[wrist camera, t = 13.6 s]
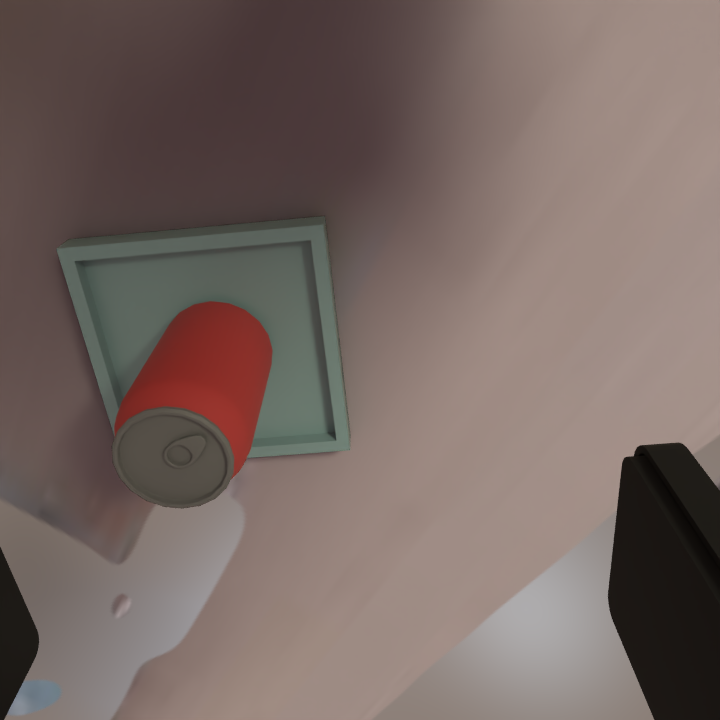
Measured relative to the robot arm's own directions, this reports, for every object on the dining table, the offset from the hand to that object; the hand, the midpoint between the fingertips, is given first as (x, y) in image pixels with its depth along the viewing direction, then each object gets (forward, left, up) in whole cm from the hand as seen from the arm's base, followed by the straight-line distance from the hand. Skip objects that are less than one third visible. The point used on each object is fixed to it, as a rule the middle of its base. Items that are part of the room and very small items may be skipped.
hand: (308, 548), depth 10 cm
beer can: (+9, +10, -30) cm, 33 cm away
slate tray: (+9, +11, -30) cm, 33 cm away
